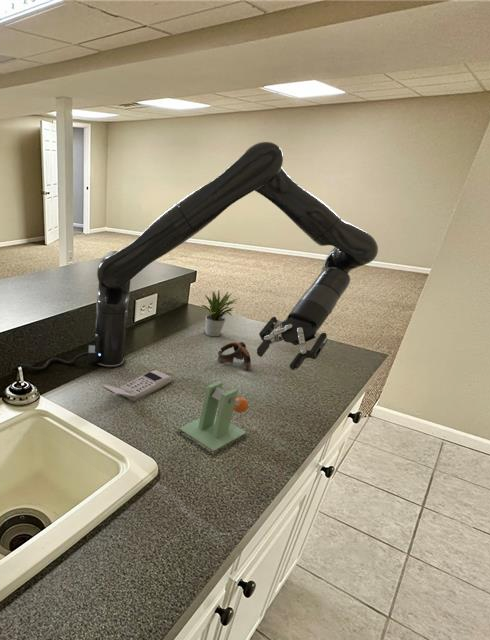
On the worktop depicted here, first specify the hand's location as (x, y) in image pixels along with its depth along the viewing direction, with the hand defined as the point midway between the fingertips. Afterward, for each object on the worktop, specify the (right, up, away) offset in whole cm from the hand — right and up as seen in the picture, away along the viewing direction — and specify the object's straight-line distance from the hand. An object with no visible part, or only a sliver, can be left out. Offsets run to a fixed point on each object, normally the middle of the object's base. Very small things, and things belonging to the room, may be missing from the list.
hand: (274, 361), depth 97 cm
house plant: (+2, +12, +51) cm, 53 cm away
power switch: (-16, -17, -3) cm, 24 cm away
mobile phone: (-31, -8, +13) cm, 35 cm away
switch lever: (-13, -11, -4) cm, 18 cm away
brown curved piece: (+2, +1, +30) cm, 30 cm away
